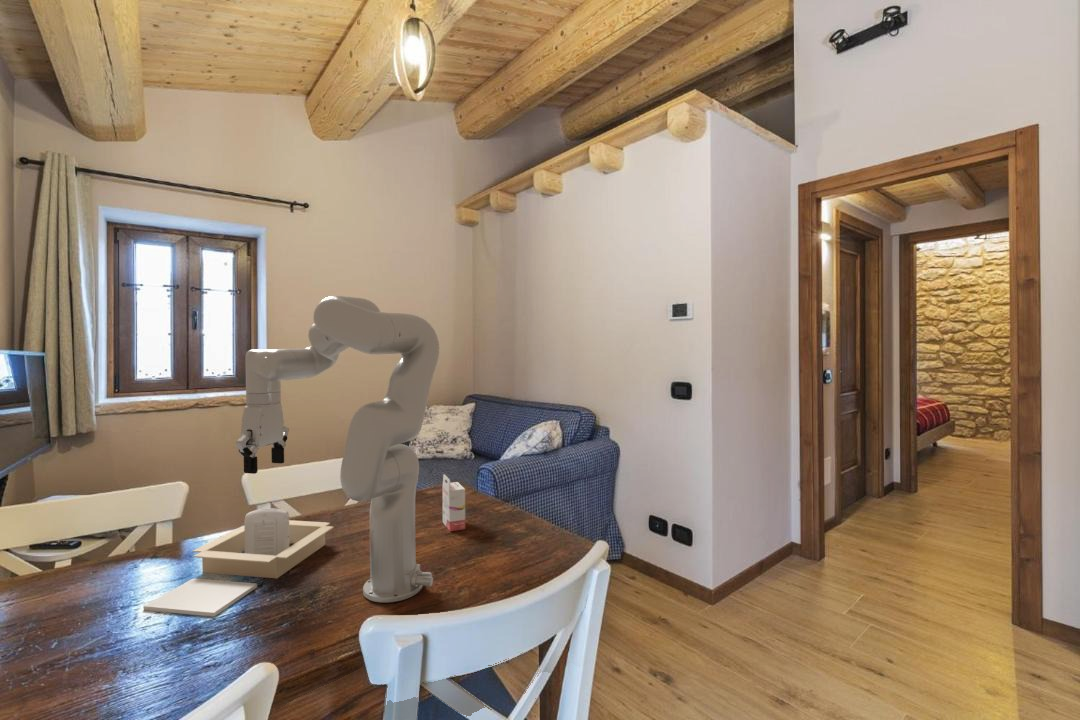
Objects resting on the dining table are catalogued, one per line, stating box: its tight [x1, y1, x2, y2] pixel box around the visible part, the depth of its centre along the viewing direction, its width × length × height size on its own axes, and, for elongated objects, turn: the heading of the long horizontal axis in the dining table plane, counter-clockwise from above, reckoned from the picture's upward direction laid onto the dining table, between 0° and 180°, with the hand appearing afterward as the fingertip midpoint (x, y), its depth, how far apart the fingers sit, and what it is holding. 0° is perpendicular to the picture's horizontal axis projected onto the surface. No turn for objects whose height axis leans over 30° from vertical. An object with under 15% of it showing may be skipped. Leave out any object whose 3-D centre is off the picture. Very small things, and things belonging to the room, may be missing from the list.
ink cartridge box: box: [442, 473, 466, 532], centre depth 148 cm, size 9×5×15 cm, turn 25°
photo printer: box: [244, 507, 290, 556], centre depth 126 cm, size 10×4×12 cm, turn 98°
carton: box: [192, 519, 335, 579], centre depth 127 cm, size 24×24×5 cm
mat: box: [143, 578, 258, 618], centre depth 107 cm, size 16×12×1 cm
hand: (264, 467), depth 126 cm, fingers open, 9 cm apart
